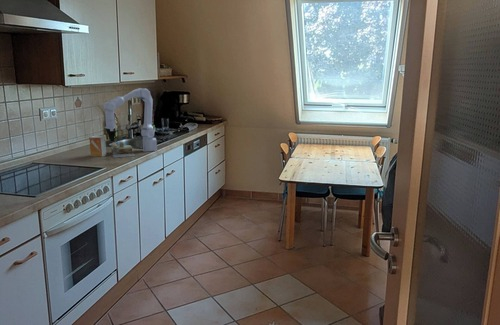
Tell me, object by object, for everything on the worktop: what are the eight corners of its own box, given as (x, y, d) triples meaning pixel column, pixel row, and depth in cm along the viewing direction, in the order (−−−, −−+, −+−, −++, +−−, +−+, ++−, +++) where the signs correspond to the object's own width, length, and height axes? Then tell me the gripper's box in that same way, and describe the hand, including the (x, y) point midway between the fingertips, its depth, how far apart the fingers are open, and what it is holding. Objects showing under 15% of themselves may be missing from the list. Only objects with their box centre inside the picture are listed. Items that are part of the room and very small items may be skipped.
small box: (90, 156, 273) (88, 137, 270) (95, 154, 280) (93, 135, 276) (102, 156, 272) (100, 137, 269) (106, 154, 279) (105, 135, 275)
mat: (133, 153, 282) (133, 153, 282) (135, 156, 274) (135, 155, 274) (112, 155, 277) (112, 154, 277) (113, 158, 269) (113, 157, 269)
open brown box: (130, 150, 292) (130, 144, 291) (132, 153, 282) (132, 147, 281) (111, 152, 287) (111, 145, 286) (113, 155, 277) (112, 148, 276)
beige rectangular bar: (115, 145, 288) (115, 142, 287) (117, 148, 277) (117, 145, 277) (112, 145, 287) (112, 142, 286) (114, 148, 276) (114, 145, 276)
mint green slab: (130, 146, 290) (130, 141, 289) (132, 148, 283) (131, 142, 282) (111, 147, 285) (110, 142, 284) (112, 149, 278) (112, 144, 277)
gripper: (103, 119, 277) (104, 139, 280) (104, 121, 264) (106, 142, 267) (114, 118, 280) (115, 138, 283) (116, 121, 267) (117, 141, 270)
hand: (111, 140), depth 275 cm, fingers open, 7 cm apart
